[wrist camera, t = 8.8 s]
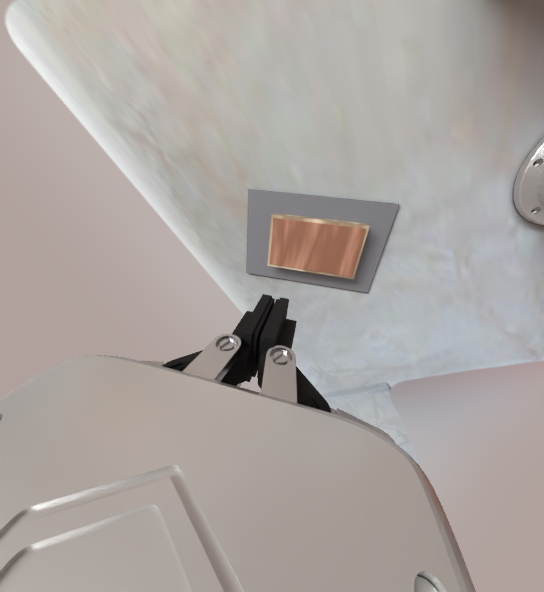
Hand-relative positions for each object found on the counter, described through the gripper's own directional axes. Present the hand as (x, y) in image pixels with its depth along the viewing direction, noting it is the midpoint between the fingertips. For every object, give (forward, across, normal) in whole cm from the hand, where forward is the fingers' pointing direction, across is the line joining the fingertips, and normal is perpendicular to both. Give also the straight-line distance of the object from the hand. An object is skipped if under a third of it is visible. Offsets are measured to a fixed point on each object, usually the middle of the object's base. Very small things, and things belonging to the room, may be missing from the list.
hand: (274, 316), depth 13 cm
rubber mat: (+23, -1, 0) cm, 23 cm away
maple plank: (+21, +5, 0) cm, 22 cm away
